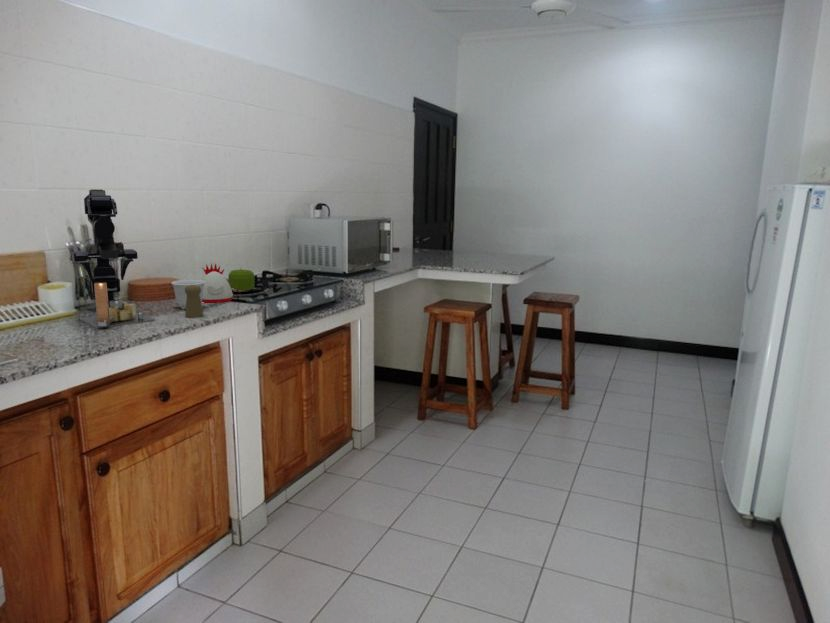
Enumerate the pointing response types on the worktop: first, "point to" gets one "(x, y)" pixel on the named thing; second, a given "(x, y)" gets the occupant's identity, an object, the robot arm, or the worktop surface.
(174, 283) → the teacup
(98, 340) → the worktop surface
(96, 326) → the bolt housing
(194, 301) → the pepper mill
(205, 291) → the kitchen timer
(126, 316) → the copper cylinder with bracket
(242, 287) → the apple
